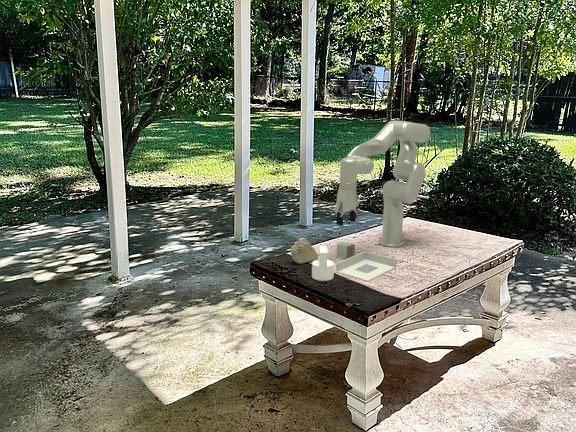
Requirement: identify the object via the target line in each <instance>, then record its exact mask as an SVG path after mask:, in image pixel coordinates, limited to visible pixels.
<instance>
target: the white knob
mask: <svg viewBox="0 0 576 432" xmlns="http://www.w3.org/2000/svg"><path fill="white" fill-rule="evenodd" d="M318 248H319V253H318V259H317V260H313V261H311V277H312V279H314V280H316V281H319V282H321V281H322V282H327V281H331V280H333V279H334V276H335V275H334V274H335V270H334V269H335V263H334V261H331V260H330V259H328V247H327V245H320V246H319V247H318Z"/></svg>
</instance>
